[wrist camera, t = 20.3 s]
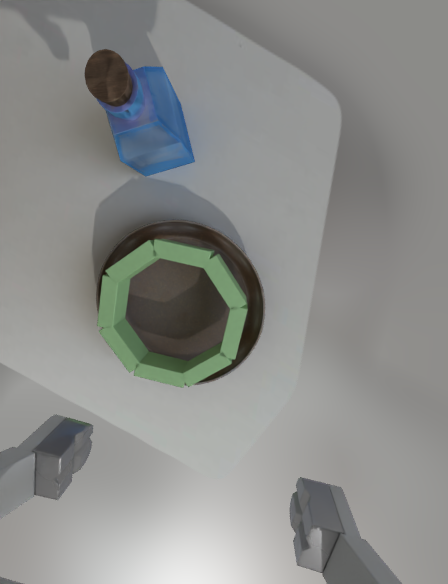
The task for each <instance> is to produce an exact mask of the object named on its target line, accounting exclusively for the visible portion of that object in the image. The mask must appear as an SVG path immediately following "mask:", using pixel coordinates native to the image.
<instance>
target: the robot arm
mask: <svg viewBox="0 0 448 584" xmlns="http://www.w3.org/2000/svg"><path fill="white" fill-rule="evenodd" d="M92 433H93V425H91V424H89V423H85V422H81V421H78V420H75V419H71V418H67V417H63V416H60V415H54V416H52V417H50V418H49V419H48V420H47V421H46V422H45V423H44V424H42V425H41V426H40V427H39V428H38V429H37V430H36V431H35V432H34V433H33V434H32V435H30V436H29V437H28V438H27V439H26V440H25V441H24V442H23V443H22V444H21V445H20V446H18V447H17V448H16V447H12V448H9V449H7V450H4V451H2V452H0V519H1V518H3V517H4V516H5V515H7V514H9V513H10V512H11V511H13V510H14V509H16V508H17V507H19V506H20V505H22V504H23V503H25V502H26V501H28V500H29V499H31V498H32V497H34V495H38V496H43V497H47V498H51V499H56V500H59V498H60V497H61V495H62V494H63V493H64V491H65V490H66V489H67V487H68V486H69V484H70V483H71V482H72V474H74V473H75V472H77V471H79V470H80V469H81V468H82V466H83V465H84V463H85V462H86V460H87V458H88V456H89V454H90V450H91V446H92V441H91V440H90V438H89V437H90V435H91V434H92ZM296 487H297V492H295V493H293V495H292V498H291V503H290V521H291V526H292V528H293V529H294V531H295V533H296V535H295V538H294V540H293V542H294V549H295V556H296V562H297V565H298V566H301V567H305V568H308V569H311V570H314V571H317V572H320V573H323V577H324V579H325V580H326V582H327V584H402V583H401V582H400V581H399V579H398V578H397V577H396V576H395V575H394V573H393V572H392V571H391V570H390V569H389V567H388V566H387V565H386V564H385V563H384V561H383V560H382V559H381V558H380V557H379V555H378V554H377V553H376V552H375V551H374V549H373V548H372V547H371V546H370V545H369V543H368V542H367V541H366V540H364V539H361V537H360V534H359V531H358V529H357V526H356V523H355V521H354V518H353V515H352V513H351V510H350V508H349V505H348V502H347V500H346V497H345V494H344V492H343V490H342V488H341V487H337V486H333V485H330V484H326V483H322V482H318V481H314V480H310V479H305V478H301V477H300V478H299V479H298V481H297V484H296ZM0 584H23V583H19V582H16V581H12V580H9V579H5V578H2V577H0Z"/></svg>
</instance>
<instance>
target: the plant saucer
mask: <svg viewBox="0 0 448 584" xmlns="http://www.w3.org/2000/svg"><path fill="white" fill-rule="evenodd" d="M154 239H167V240H171V241H176V242H180V243H184V244H189V245H193V246H198V247H202V248H206V249H211V250H214V256H216V255H217V254H220V256H221V257H222V259H223V261H224V262H225V264H226V265H227V267H228V269H229V270H230V272H231V273H232V275H233V276H234V278H235V280H236V281H237V283H238V284H239V286H240V288H241V289H242V291H243V292H244V294H245V295H246V300H247V307H248V310H247V314H246V318H245V322H244V326H243V330H242V334H241V338H240V342H239V346H238V350H237V354H236V358H235V360H234V359H232V364H230V365H228V366H226V367H225V368H223V369H221V370H219V371H217V372H215V373H214V374H212V375H210V376H208V377H206V378H204V379H203V380H201V381H199V382H197V383H195V384H193V385H199V384H204V383H209V382H212V381H215V380H217V379H220V378H222V377H224V376H226V375H228V374H229V373H231V372H232V371H234V370H235V369H236V368H238V367H239V366H240V365H241V364H242V363H243V362H244V361H245V360H246V359H247V358H248V356H249V355H250V354H251V353H252V351H253V349H254V348H255V346H256V344H257V342H258V340H259V338H260V335H261V332H262V329H263V325H264V319H265V298H264V291H263V287H262V284H261V281H260V278H259V276H258V273H257V271H256V269H255V267H254V266H253V264H252V262H251V261H250V259H249V258H248V257H247V255H246V254H245V253H244V252H243V251H242V249H241V248H240V247H239V246H238V245H237V244H235V243H234V242H233V241H232V240H231V239H230V238H228V237H227V236H225V235H224V234H222V233H221V232H219V231H217V230H215V229H213V228H211V227H208V226H206V225H203V224H200V223H196V222H192V221H186V220H165V221H159V222H154V223H150V224H147V225H145V226H142V227H140V228H138V229H136V230H134V231H133V232H131V233H129V234H128V235H127V236H125V237H124V238H123V239H122V240H121V241H120V242H119V243H118V244H117V245H116V246H115V247H114V248H113V250H112V251H111V252H110V254H109V255H108V257H107V258H106V260H105V262H104V264H103V266H102V269H101V272H100V275H99V279H98V283H97V292H96V301H97V310H98V314H99V305H100V296H101V286H102V277H103V275H106V274H107V272H106V270H107V269H108V268H110V267H111V266H113V265H114V264H115V263H117V262H118V261H120V260H121V259H122V258H124V257H125V256H127V255H128V254H130V253H131V252H132V251H134V250H135V249H137V248H138V247H140V246H141V245H142V244H144V243H145V242H147V241H148V240H154ZM214 256H213V257H214ZM229 311H230V308H229V307H228V305H227V304H226V302H225V301H224V299H223V297H222V296H221V294H220V293H219V291H218V290H217V288H216V287H215V285H214V284H213V282H212V280H211V279H210V277H209V276H208V274H207V273H206V271H205V270H204V268H200V267H196V266H192V265H187V264H183V263H179V262H174V261H170V260H166V259H161V258H160V259H159V260H157V261H156V262H154V263H153V264H151V265H150V266H148V267H147V268H145V269H144V270H142V271H141V272H139V273H138V274H136V275H135V276H133V277H132V278H130V285H129V293H128V300H127V308H126V315H125V319H126V320H127V322H128V323H129V324H130V326H131V327H132V328H133V330H134V331H135V333H136V334H137V335H138V337H139V338H140V340H141V341H142V342H143V344H144V345H145V347H146V348H147V349H148V351H149V352H153V353H157V354H161V355H165V356H170V357H174V358H178V359H182V360H186V361H189V360H191V359H193V358H195V357H196V356H198V355H200V354H202V353H203V352H205V351H207V350H209V349H210V348H212V347H214V346H216V345H217V344H219V343H221V342H222V341H223V336H224V332H225V328H226V324H227V319H228V315H229ZM102 328H103V327H102ZM185 385H186V383H185Z"/></svg>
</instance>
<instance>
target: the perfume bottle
mask: <svg viewBox="0 0 448 584" xmlns="http://www.w3.org/2000/svg"><path fill="white" fill-rule="evenodd" d="M85 80H86V84H87V87H88V89H89V91H90V92H91V93H92V95H93V96H94V97H96V98H97V101H98V102H99V103H100V104H101V106H102V107H103V108H104V109H105V110H106V113H107V117H108V120H109V124H110V127H111V130H112V134H113V137H114V140H115V144H116V147H117V150H118V154H119V157H120V160H121V161H122V162H123V163H125V164H127V165H128V166H130V167H131V168H133V169H135V170H136V171H138V172H140V173H141V174H143V175H144V176H149V175H152V174H155V173H159V172H162V171H165V170H169V169H172V168H175V167H179V166H182V165H186V164H189V163H192V162H195V160H194V156H193V152H192V148H191V144H190V140H189V136H188V132H187V128H186V124H185V120H184V116H183V112H182V108H181V104H180V102H179V100H178V98H177V96H176V93H175V91H174V89H173V87H172V85H171V83H170V81H169V79H168V77H167V75H166V73H165V71H164V69H163V67H141V68H138V69H135V70H132V69H131V67H130V66H129V65H128V64H126V63H125V62H124V60H123V59H122V58H121V57H120V55H119V54H117V53H116V52H114V51H112V50H107V49H104V50H99V51H97V52H96V53H94V54H93V55H92V56H91V57H90V58H89V60H88V62H87V65H86V67H85Z"/></svg>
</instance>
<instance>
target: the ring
mask: <svg viewBox="0 0 448 584" xmlns="http://www.w3.org/2000/svg"><path fill="white" fill-rule="evenodd" d="M213 256H214V250H211V249H206V248H202V247H198V246H193V245H189V244H184V243H180V242H176V241H171V240H167V239H154V240H148V241H147V242H145V243H144V244H142V245H141V246H140V247H138V248H137V249H135V250H134V251H132V252H131V253H130V254H128V255H127V256H125V257H124V258H122V259H121V260H120V261H118V262H117V263H115V264H114V265H113V266H111V267H110V268H108V269H107V270H106V272H107V274H106V275H103V277H102V286H101V296H100V305H99V314H98V323H97V326H99V327H103V329H101V330H100V331H99V332H100V334H101V335H102V337H103V338H104V339H105V341H106V342H107V343H108V345H109V346H110V347H111V349H112V350H113V351H114V353H115V354H116V355H117V357H118V358H119V359H120V361H121V362H122V363H123V365H124V366H125V367H126V369H127V370H128V371H129V372H131V371H133V370H135V372H134V376H138V377H142V378H146V379H150V380H154V381H158V382H162V383H166V384H170V385H174V386H178V387H182V388H183V387H184V385H185V383H186V385H187V386H188V387H190V386H192V385H193V384H195V383H197V382H199V381H201V380H203V379H204V378H206V377H208V376H210V375H212V374H214V373H215V372H217V371H219V370H221V369H223V368H225V367H226V366H228V365H230V364H232V359H234V360H235V358H236V354H237V350H238V346H239V342H240V338H241V334H242V330H243V326H244V322H245V318H246V314H247V310H248V307H247V300H246V295H245V294H244V292H243V291H242V289H241V288H240V286H239V284H238V283H237V281H236V280H235V278H234V276H233V275H232V273H231V272H230V270H229V269H228V267H227V265H226V264H225V262H224V261H223V259H222V257H221V256H220V254H217V255H216V256H214V257H213ZM160 258H161V259H166V260H170V261H174V262H179V263H183V264H187V265H192V266H196V267H200V268H204V270H205V271H206V273H207V274H208V276H209V277H210V279H211V280H212V282H213V284H214V285H215V287H216V288H217V290H218V291H219V293H220V294H221V296H222V297H223V299H224V301H225V302H226V304H227V305H228V307H229V308H230V311H229V315H228V319H227V324H226V328H225V332H224V336H223V341H222V342H221V343H219V344H217V345H216V346H214V347H212V348H210V349H209V350H207V351H205V352H203V353H202V354H200V355H198V356H196V357H195V358H193V359H191V360H189V361H186V360H182V359H178V358H174V357H170V356H165V355H161V354H157V353H153V352H149V351H148V349H147V348H146V347H145V345H144V344H143V342H142V341H141V340H140V338H139V337H138V335H137V334H136V333H135V331H134V330H133V328H132V327H131V326H130V324H129V323H128V322H127V320H126V319H125V315H126V308H127V300H128V293H129V285H130V278H132V277H133V276H135V275H136V274H138V273H139V272H141V271H142V270H144V269H145V268H147V267H148V266H150V265H151V264H153V263H154V262H156V261H157V260H159V259H160Z"/></svg>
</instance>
